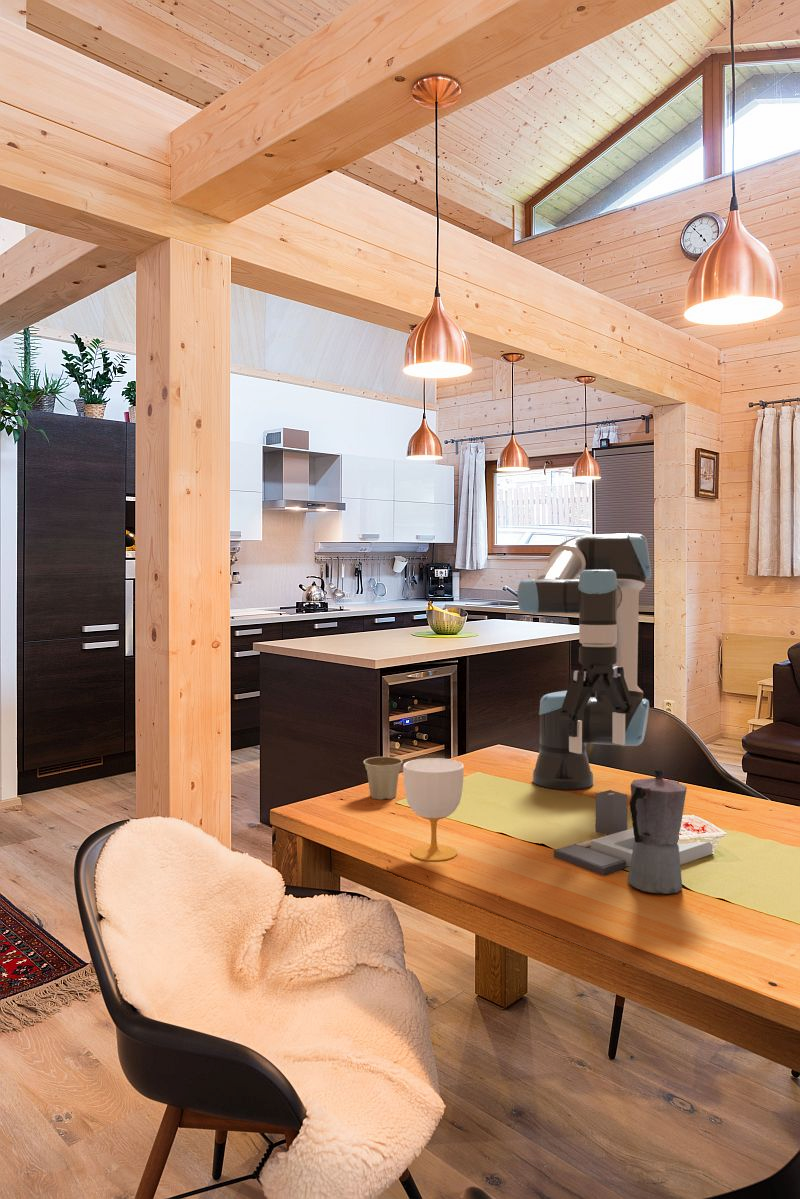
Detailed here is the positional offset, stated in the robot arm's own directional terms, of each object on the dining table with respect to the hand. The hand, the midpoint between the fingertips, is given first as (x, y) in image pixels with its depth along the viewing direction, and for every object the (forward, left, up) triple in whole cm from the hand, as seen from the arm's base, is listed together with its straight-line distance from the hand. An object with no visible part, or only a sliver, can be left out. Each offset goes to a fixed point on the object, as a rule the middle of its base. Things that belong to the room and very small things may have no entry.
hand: (597, 748), depth 168 cm
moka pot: (+15, +25, -18) cm, 34 cm away
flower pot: (+20, -49, -18) cm, 56 cm away
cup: (+35, -10, -18) cm, 40 cm away
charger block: (-2, +2, -18) cm, 18 cm away
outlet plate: (+2, +15, -18) cm, 23 cm away
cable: (+6, +5, -17) cm, 19 cm away
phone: (+15, +11, -17) cm, 25 cm away
